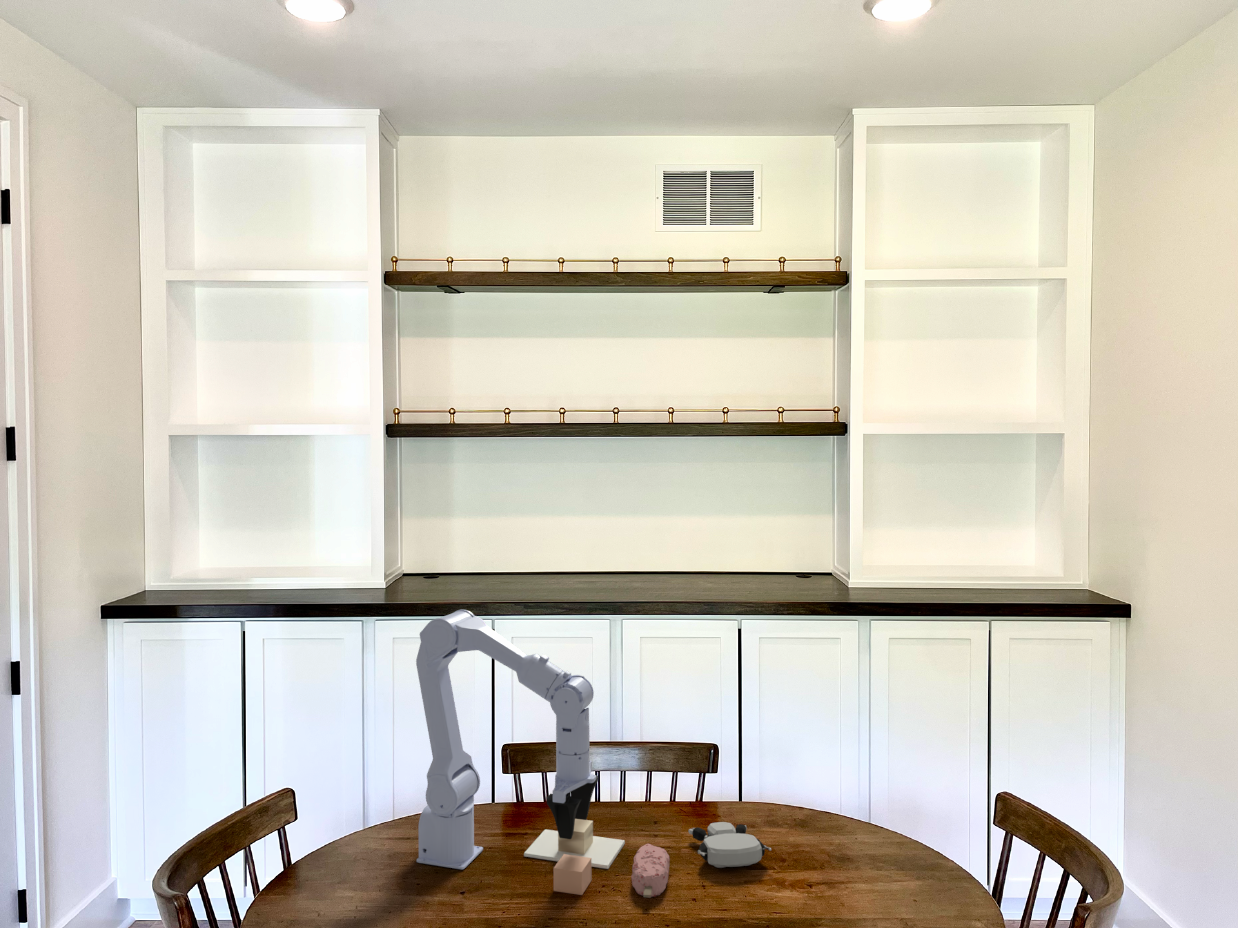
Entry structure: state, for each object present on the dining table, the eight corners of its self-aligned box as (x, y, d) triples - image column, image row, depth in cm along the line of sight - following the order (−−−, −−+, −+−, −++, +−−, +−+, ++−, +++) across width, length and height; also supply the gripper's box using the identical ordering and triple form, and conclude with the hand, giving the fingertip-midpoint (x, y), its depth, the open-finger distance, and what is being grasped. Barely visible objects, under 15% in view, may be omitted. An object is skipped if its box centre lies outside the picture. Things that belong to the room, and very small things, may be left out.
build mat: (524, 856, 154) (524, 852, 154) (545, 832, 164) (545, 829, 164) (608, 868, 150) (608, 865, 150) (624, 843, 159) (624, 840, 159)
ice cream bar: (627, 883, 137) (635, 839, 152) (628, 909, 137) (636, 862, 152) (666, 884, 137) (670, 840, 151) (666, 910, 137) (671, 863, 151)
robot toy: (685, 844, 161) (704, 878, 146) (684, 820, 161) (703, 851, 146) (747, 839, 163) (773, 872, 148) (747, 815, 163) (772, 845, 148)
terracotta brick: (553, 891, 142) (553, 867, 142) (564, 876, 147) (563, 853, 147) (581, 895, 141) (581, 871, 141) (591, 880, 146) (591, 857, 146)
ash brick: (558, 850, 155) (558, 828, 155) (567, 838, 160) (567, 817, 160) (584, 854, 154) (584, 832, 154) (593, 841, 158) (592, 820, 158)
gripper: (580, 766, 138) (581, 849, 139) (607, 737, 152) (608, 812, 153) (540, 762, 140) (541, 844, 141) (570, 734, 154) (571, 808, 155)
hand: (573, 827), depth 147 cm, fingers open, 7 cm apart
